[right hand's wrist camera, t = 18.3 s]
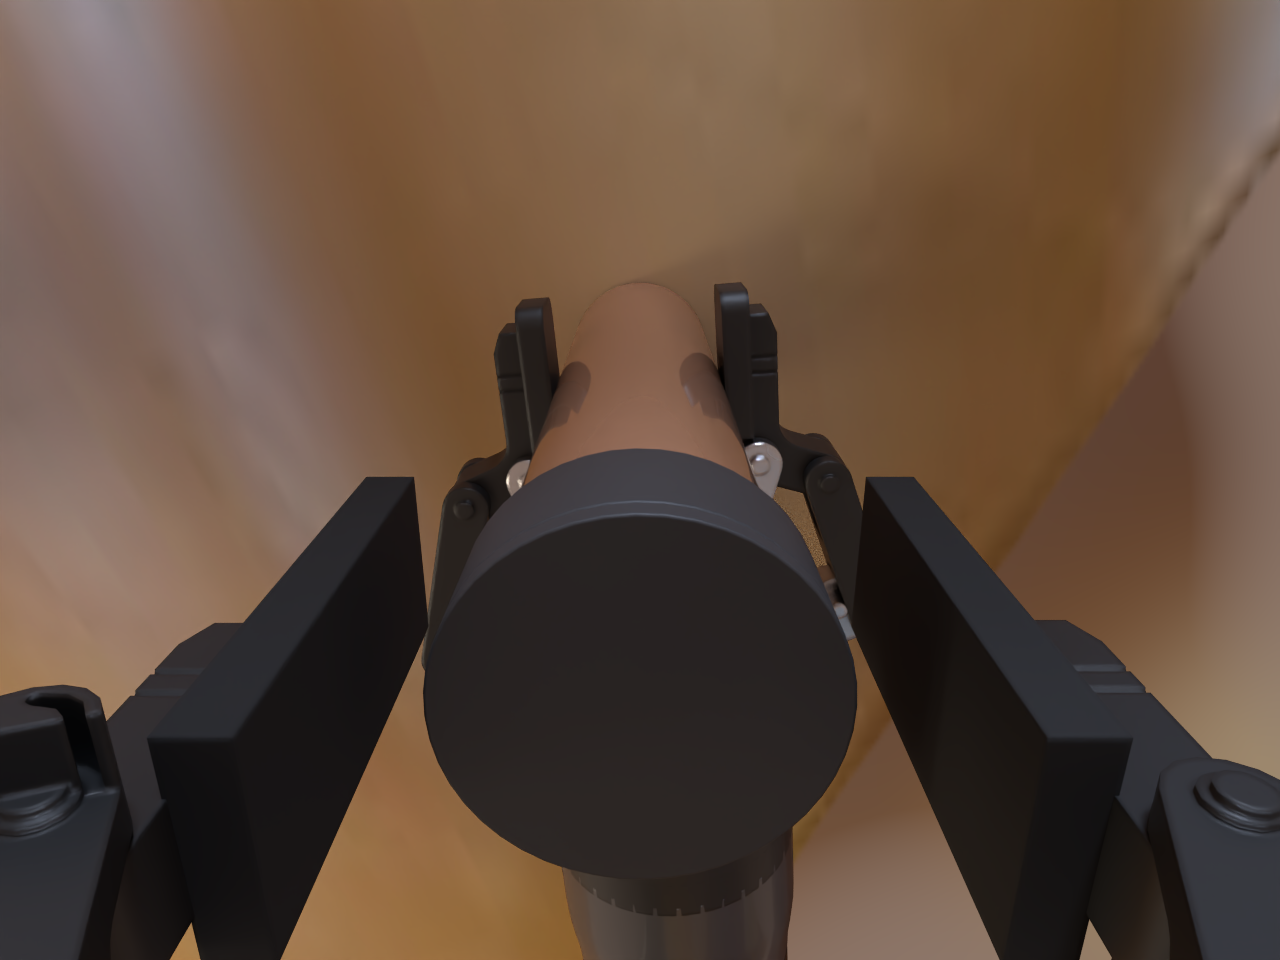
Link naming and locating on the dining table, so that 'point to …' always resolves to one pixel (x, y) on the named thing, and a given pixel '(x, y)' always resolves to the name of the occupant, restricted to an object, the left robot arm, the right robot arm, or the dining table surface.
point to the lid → (640, 669)
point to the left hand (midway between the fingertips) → (630, 298)
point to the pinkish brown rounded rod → (639, 386)
